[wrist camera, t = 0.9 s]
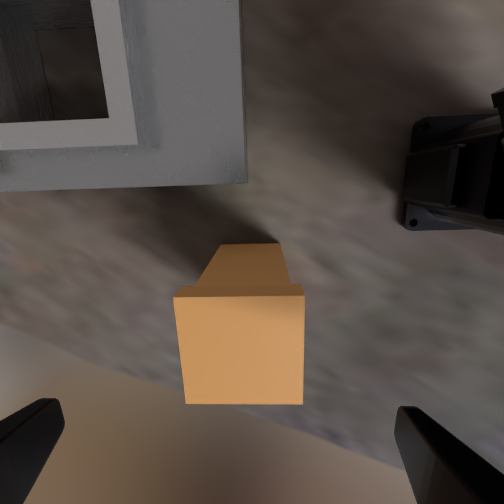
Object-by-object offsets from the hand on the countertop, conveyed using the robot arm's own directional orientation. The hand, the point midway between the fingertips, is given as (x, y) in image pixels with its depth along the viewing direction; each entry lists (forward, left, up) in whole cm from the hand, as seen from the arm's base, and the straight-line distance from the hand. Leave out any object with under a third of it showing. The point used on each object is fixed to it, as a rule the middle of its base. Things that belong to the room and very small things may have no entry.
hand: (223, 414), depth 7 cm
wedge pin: (0, 0, -12) cm, 12 cm away
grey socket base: (+9, -12, -12) cm, 19 cm away
